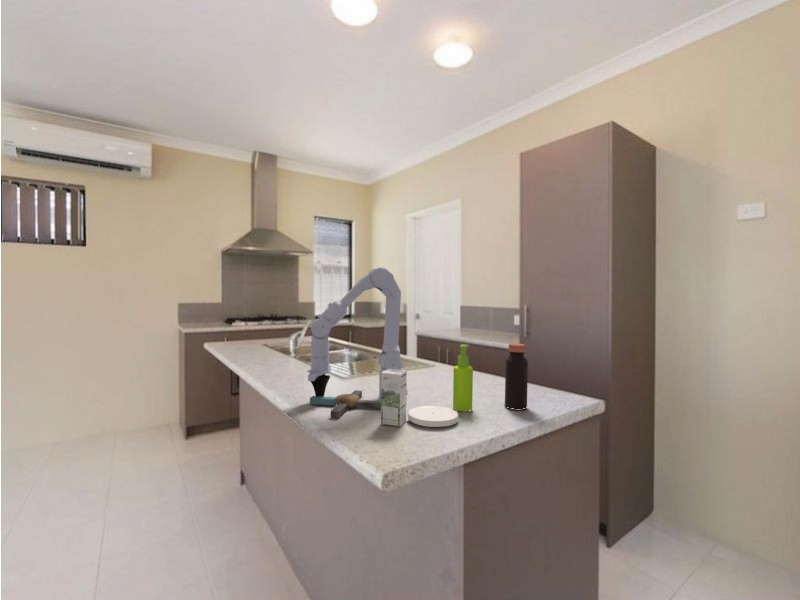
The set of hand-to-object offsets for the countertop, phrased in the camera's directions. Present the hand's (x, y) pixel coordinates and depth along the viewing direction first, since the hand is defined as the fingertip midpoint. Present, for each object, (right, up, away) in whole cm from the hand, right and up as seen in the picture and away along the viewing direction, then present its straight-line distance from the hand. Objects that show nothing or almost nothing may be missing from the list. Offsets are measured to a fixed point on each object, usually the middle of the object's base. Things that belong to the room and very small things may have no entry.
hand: (319, 398), depth 127 cm
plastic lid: (+35, -3, -16) cm, 39 cm away
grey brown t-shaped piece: (+14, -2, -4) cm, 14 cm away
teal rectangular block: (+2, -1, -2) cm, 3 cm away
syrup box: (+24, -2, -19) cm, 31 cm away
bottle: (+62, -3, -2) cm, 62 cm away
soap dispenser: (+45, -2, -4) cm, 46 cm away
